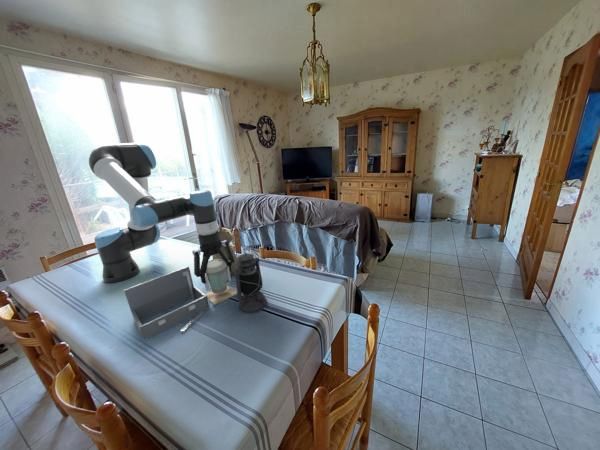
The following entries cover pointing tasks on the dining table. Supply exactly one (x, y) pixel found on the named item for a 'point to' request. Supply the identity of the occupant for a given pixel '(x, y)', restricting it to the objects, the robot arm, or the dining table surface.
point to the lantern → (249, 283)
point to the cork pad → (220, 295)
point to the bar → (191, 322)
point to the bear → (229, 238)
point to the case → (164, 301)
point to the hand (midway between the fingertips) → (218, 284)
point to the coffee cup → (217, 275)
